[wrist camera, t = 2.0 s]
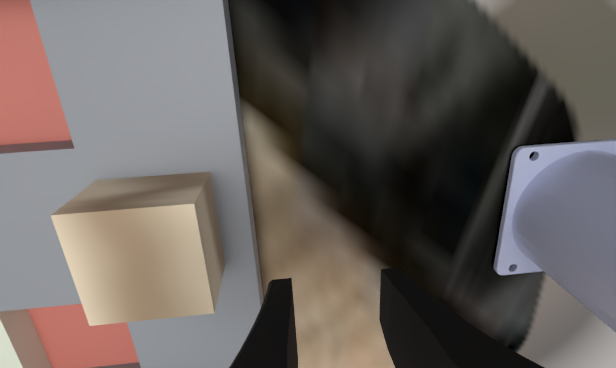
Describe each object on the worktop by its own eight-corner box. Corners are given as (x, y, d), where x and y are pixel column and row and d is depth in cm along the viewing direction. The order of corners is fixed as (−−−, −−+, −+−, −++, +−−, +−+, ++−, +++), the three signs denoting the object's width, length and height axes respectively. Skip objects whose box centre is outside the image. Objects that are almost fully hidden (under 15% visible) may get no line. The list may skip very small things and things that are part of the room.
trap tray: (223, -38, 15) (200, -74, 10) (270, 356, 23) (269, 434, 19) (-260, -19, 14) (-527, -49, 9) (-32, 389, 22) (-113, 481, 17)
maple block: (210, 171, 16) (194, 203, 13) (225, 264, 18) (214, 313, 15) (96, 180, 16) (50, 215, 13) (123, 274, 18) (89, 325, 15)
